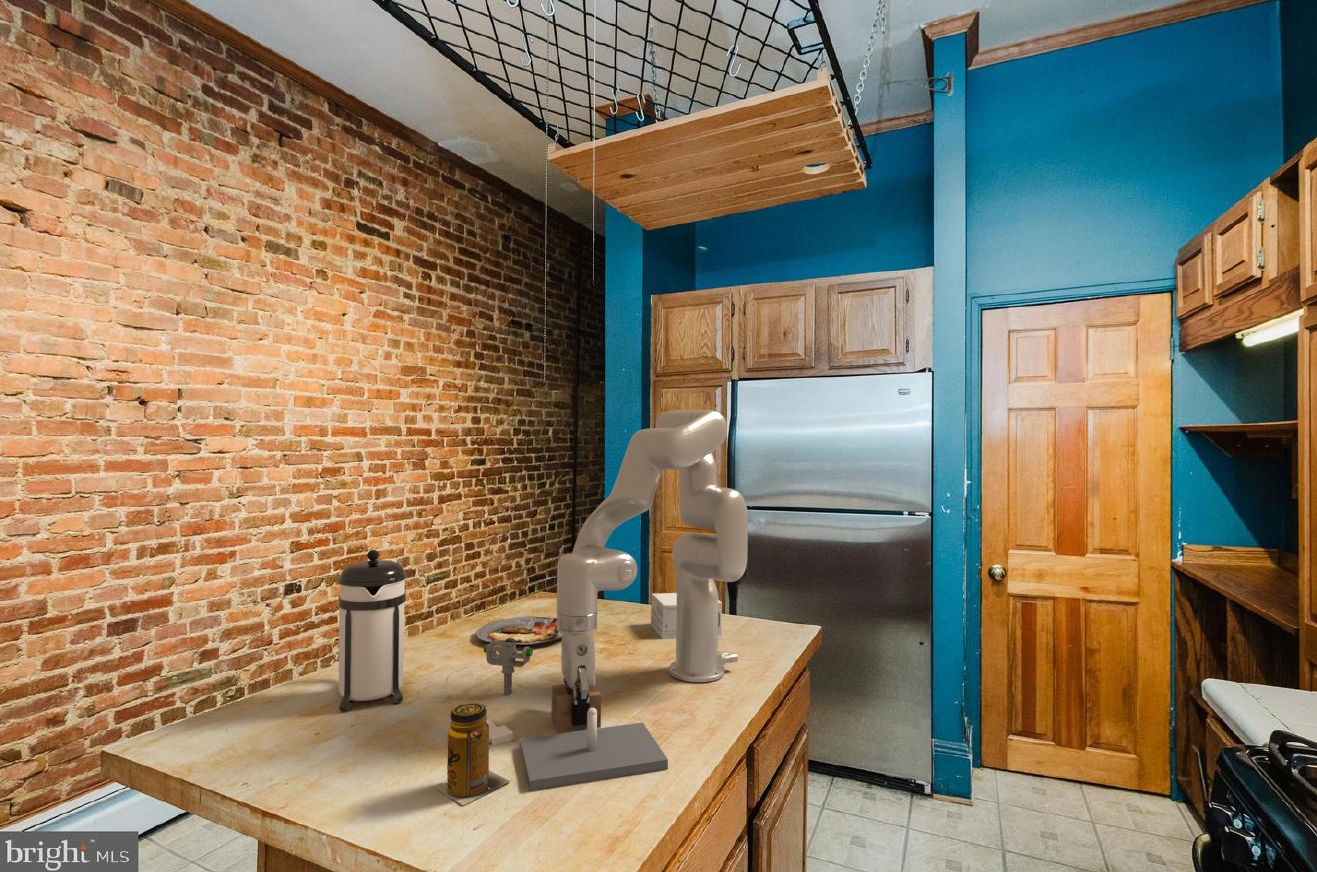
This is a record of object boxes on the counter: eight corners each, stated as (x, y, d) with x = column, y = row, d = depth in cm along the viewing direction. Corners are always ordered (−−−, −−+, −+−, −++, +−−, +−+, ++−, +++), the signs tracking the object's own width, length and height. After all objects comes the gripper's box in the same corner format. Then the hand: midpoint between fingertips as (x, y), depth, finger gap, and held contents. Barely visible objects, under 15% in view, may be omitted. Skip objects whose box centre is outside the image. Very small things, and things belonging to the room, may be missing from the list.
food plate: (585, 626, 180) (584, 614, 180) (552, 654, 157) (552, 640, 157) (503, 622, 185) (502, 609, 185) (460, 648, 163) (460, 634, 163)
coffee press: (430, 689, 134) (432, 546, 134) (367, 719, 120) (369, 559, 120) (371, 675, 142) (372, 540, 142) (304, 702, 127) (306, 551, 127)
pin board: (642, 730, 117) (643, 685, 117) (667, 768, 103) (668, 717, 103) (519, 747, 110) (520, 699, 110) (529, 790, 97) (530, 735, 97)
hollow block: (592, 711, 124) (593, 680, 124) (600, 727, 118) (601, 694, 118) (551, 716, 122) (551, 685, 122) (557, 732, 115) (557, 699, 115)
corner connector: (452, 736, 114) (452, 727, 114) (494, 725, 119) (495, 716, 119) (468, 755, 108) (468, 745, 108) (512, 741, 113) (513, 732, 113)
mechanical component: (527, 698, 130) (528, 649, 130) (481, 694, 132) (482, 645, 132) (533, 693, 133) (534, 645, 133) (488, 688, 135) (488, 641, 135)
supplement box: (662, 640, 169) (662, 604, 169) (650, 625, 182) (650, 592, 182) (722, 635, 174) (722, 601, 174) (706, 622, 186) (707, 589, 186)
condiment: (435, 788, 97) (436, 709, 97) (483, 767, 103) (484, 692, 103) (462, 807, 92) (463, 723, 92) (511, 783, 99) (512, 705, 99)
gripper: (607, 632, 113) (606, 732, 113) (587, 607, 129) (586, 694, 129) (565, 636, 110) (563, 738, 110) (549, 610, 127) (548, 698, 127)
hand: (575, 713), depth 120 cm, fingers open, 8 cm apart
